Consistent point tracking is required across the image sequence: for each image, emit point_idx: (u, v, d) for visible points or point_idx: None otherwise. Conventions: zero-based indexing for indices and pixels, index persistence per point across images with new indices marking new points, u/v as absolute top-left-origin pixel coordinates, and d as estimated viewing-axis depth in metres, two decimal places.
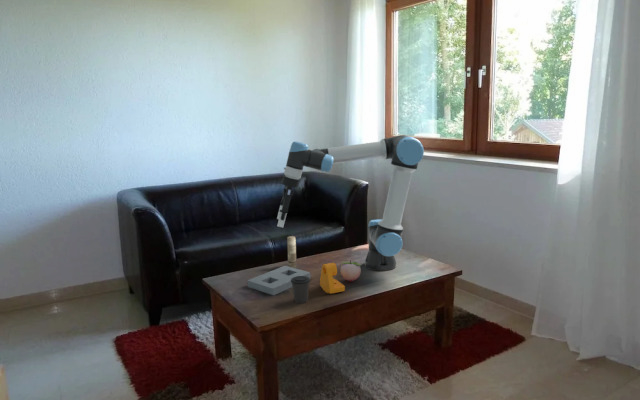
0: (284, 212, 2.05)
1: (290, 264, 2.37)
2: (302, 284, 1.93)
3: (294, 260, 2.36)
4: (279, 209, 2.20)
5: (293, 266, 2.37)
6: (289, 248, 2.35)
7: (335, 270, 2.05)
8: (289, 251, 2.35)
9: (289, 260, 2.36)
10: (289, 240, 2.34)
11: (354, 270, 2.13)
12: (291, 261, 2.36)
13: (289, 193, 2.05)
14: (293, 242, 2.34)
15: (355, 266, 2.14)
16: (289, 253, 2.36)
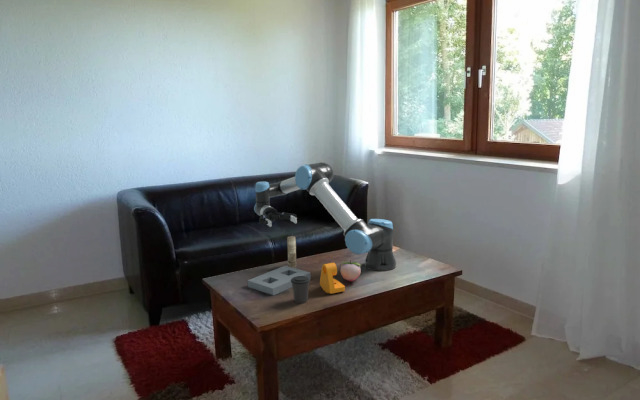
0: (262, 221, 2.45)
1: (290, 264, 2.37)
2: (302, 284, 1.93)
3: (294, 260, 2.36)
4: None
5: (293, 266, 2.37)
6: (289, 248, 2.35)
7: (335, 270, 2.05)
8: (289, 251, 2.35)
9: (289, 260, 2.36)
10: (289, 240, 2.34)
11: (354, 270, 2.13)
12: (291, 261, 2.36)
13: (260, 217, 2.53)
14: (293, 242, 2.34)
15: (355, 266, 2.14)
16: (289, 253, 2.36)
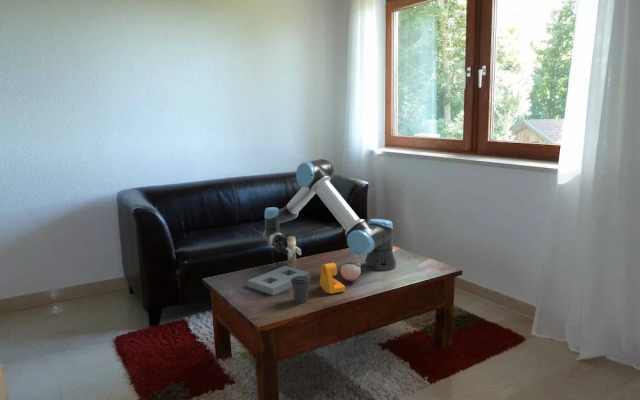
0: (282, 250, 2.36)
1: (290, 264, 2.37)
2: (302, 284, 1.93)
3: (294, 260, 2.36)
4: (296, 252, 2.37)
5: (293, 266, 2.37)
6: (289, 248, 2.35)
7: (335, 270, 2.05)
8: None
9: (289, 260, 2.36)
10: (289, 240, 2.34)
11: (354, 270, 2.13)
12: (291, 261, 2.36)
13: (272, 246, 2.43)
14: (293, 242, 2.34)
15: (355, 266, 2.14)
16: None
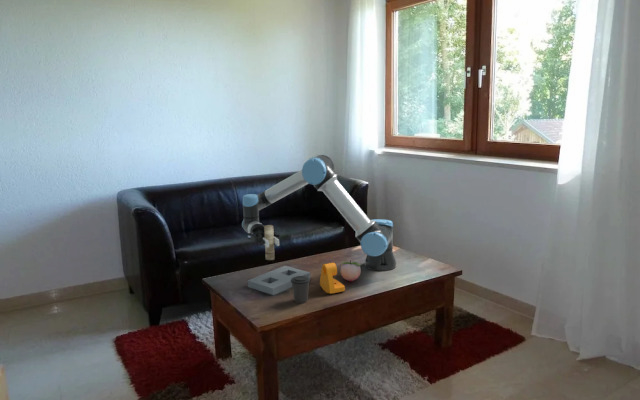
0: (258, 240, 2.13)
1: (267, 256, 2.13)
2: (302, 284, 1.93)
3: (272, 251, 2.13)
4: None
5: (271, 258, 2.13)
6: (266, 238, 2.12)
7: (335, 270, 2.05)
8: None
9: (266, 251, 2.13)
10: (266, 229, 2.11)
11: (354, 270, 2.13)
12: (268, 252, 2.13)
13: (249, 236, 2.20)
14: (270, 231, 2.11)
15: (355, 266, 2.14)
16: None
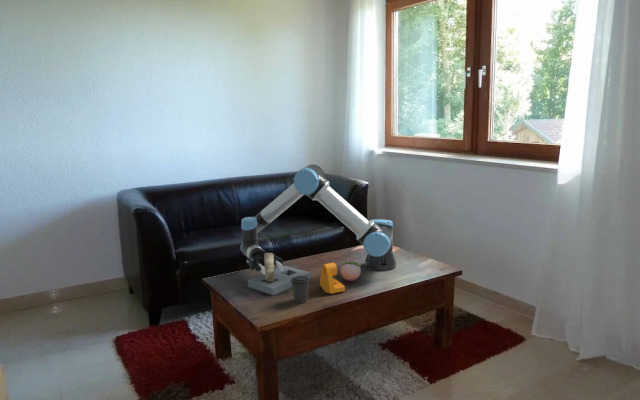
0: (254, 266, 2.11)
1: None
2: (302, 284, 1.93)
3: (272, 279, 2.11)
4: (277, 267, 2.13)
5: None
6: (266, 266, 2.10)
7: (335, 270, 2.05)
8: (266, 270, 2.10)
9: (266, 279, 2.11)
10: (266, 257, 2.09)
11: (354, 270, 2.13)
12: (269, 281, 2.11)
13: (247, 261, 2.18)
14: (271, 259, 2.09)
15: (355, 266, 2.14)
16: (266, 272, 2.11)
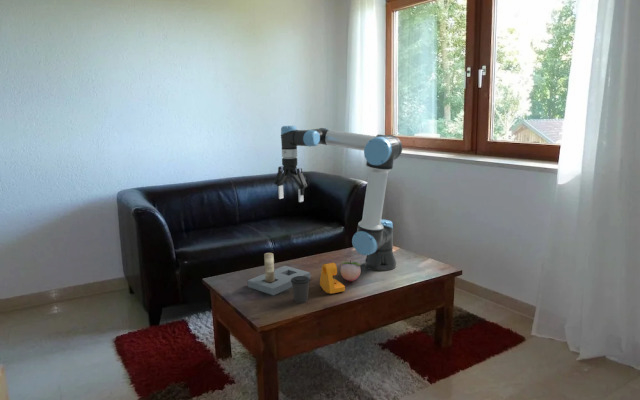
0: None
1: None
2: (302, 284, 1.93)
3: (272, 279, 2.11)
4: (279, 190, 2.43)
5: None
6: (266, 266, 2.10)
7: (335, 270, 2.05)
8: (266, 270, 2.10)
9: (266, 279, 2.11)
10: (266, 257, 2.09)
11: (354, 270, 2.13)
12: (269, 281, 2.11)
13: (300, 171, 2.34)
14: (271, 260, 2.09)
15: (355, 266, 2.14)
16: (266, 272, 2.11)
